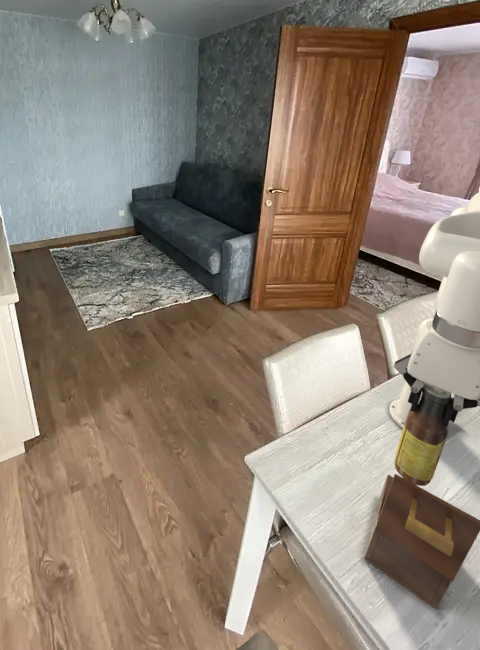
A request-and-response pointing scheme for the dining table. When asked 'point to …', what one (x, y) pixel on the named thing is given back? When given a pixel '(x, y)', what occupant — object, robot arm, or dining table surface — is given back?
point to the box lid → (427, 527)
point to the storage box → (404, 563)
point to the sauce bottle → (423, 437)
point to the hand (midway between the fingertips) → (429, 412)
